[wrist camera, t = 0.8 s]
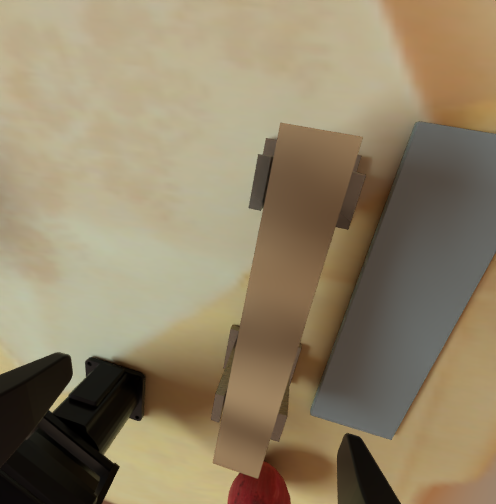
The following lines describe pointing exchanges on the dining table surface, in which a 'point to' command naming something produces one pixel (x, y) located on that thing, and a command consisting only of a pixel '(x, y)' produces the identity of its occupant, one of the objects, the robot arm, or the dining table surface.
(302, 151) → the rail
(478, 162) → the mat
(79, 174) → the dining table surface
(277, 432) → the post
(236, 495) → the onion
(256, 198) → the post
